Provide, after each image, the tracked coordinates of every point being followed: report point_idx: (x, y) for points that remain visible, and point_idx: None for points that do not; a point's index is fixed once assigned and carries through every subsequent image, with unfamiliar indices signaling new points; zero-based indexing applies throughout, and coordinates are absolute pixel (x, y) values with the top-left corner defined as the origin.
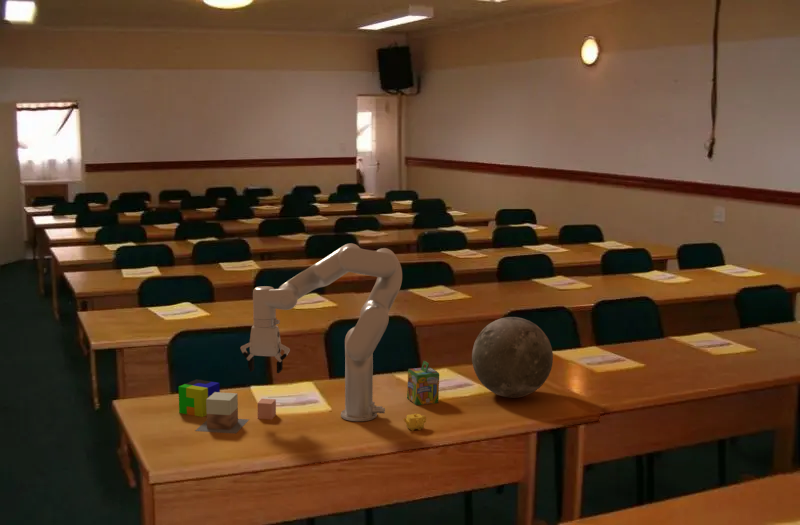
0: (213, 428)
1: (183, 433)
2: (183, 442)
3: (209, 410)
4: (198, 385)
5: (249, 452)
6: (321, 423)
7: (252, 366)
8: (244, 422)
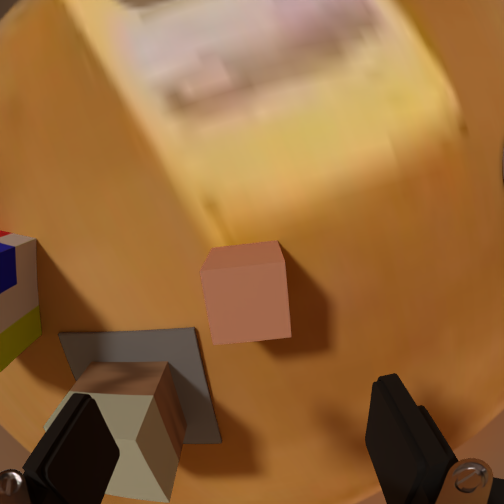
0: None
1: None
2: None
3: None
4: None
5: (310, 498)
6: (465, 274)
7: (98, 466)
8: (193, 362)
